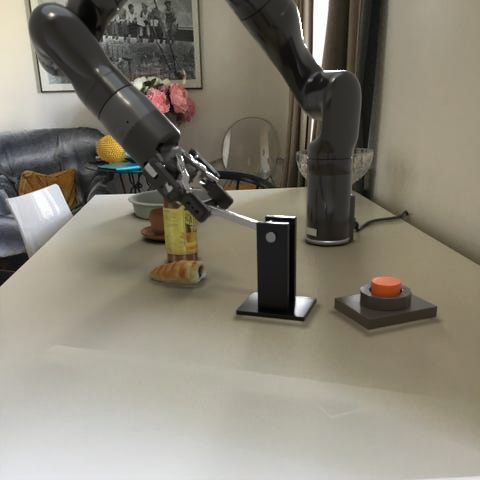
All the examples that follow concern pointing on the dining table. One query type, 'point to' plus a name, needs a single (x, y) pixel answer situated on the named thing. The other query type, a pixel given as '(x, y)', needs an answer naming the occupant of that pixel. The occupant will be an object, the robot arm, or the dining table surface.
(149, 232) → the cup and saucer
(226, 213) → the lever
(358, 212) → the dining table surface
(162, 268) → the pastry
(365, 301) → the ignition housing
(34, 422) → the dining table surface
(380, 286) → the ignition button
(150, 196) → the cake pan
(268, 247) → the stand
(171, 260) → the sauce bottle
